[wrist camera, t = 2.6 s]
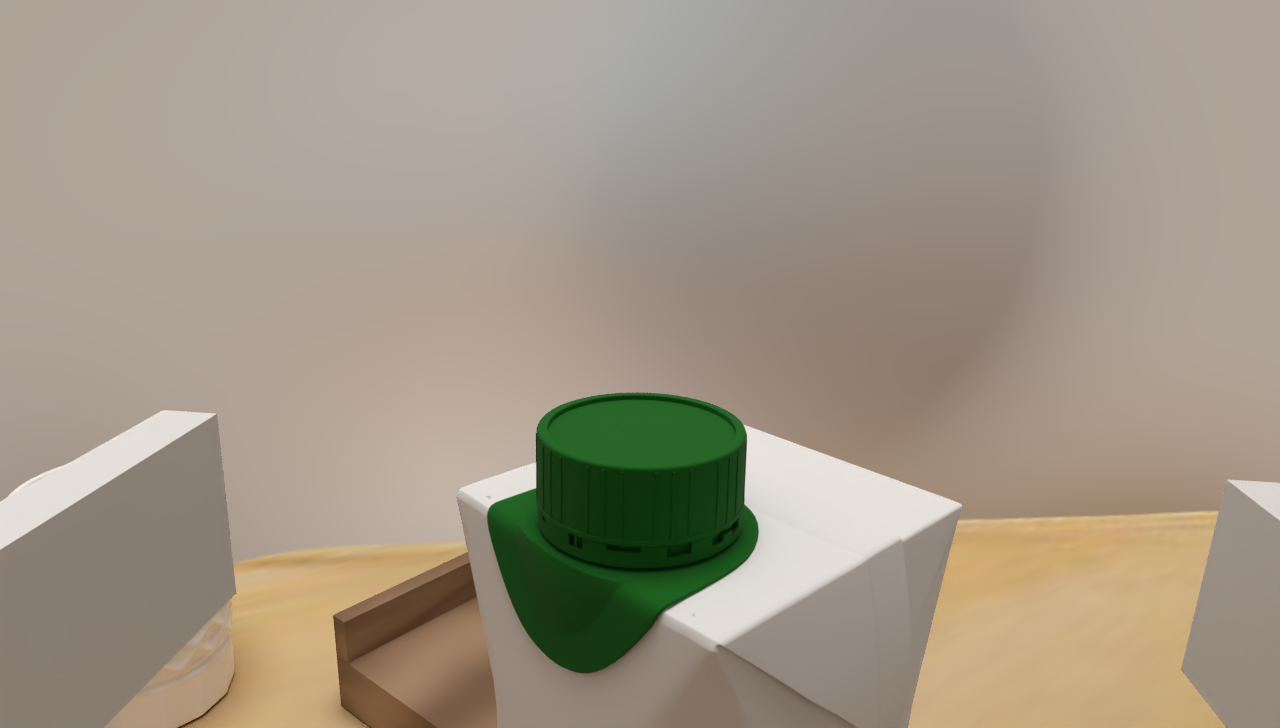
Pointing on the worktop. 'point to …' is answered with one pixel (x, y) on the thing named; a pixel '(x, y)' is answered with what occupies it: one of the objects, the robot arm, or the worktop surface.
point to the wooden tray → (418, 654)
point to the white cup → (181, 674)
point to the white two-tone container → (700, 575)
